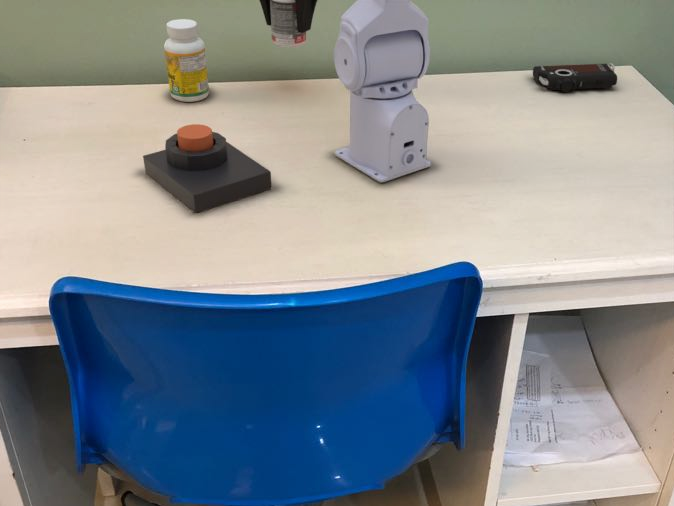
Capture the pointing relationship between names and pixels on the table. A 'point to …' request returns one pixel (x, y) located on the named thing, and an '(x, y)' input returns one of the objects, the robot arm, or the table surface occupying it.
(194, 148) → the orange push button
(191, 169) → the block
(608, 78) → the camera
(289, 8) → the pill bottle
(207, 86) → the supplement bottle
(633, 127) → the table surface
